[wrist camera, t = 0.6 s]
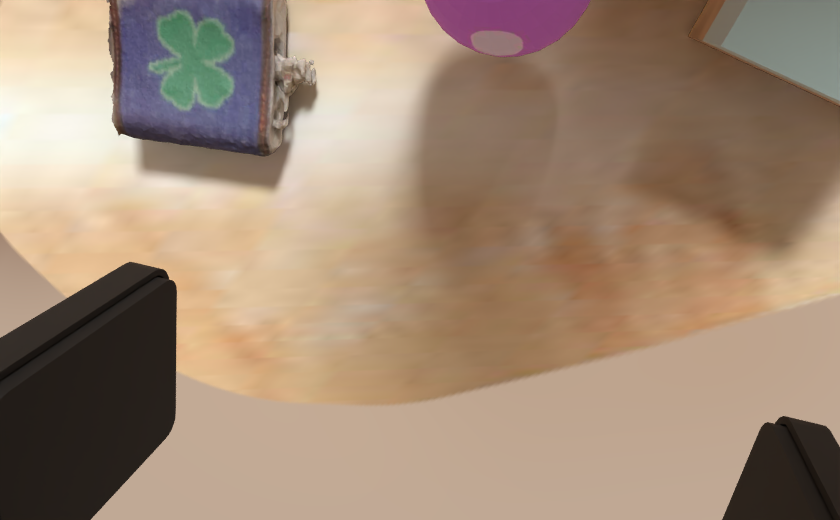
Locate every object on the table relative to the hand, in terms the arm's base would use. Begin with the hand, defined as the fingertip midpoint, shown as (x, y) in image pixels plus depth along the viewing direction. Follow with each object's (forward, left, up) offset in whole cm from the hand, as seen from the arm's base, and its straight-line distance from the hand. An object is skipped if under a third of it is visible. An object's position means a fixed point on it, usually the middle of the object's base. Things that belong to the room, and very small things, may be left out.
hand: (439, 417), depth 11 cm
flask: (+6, -21, -29) cm, 36 cm away
